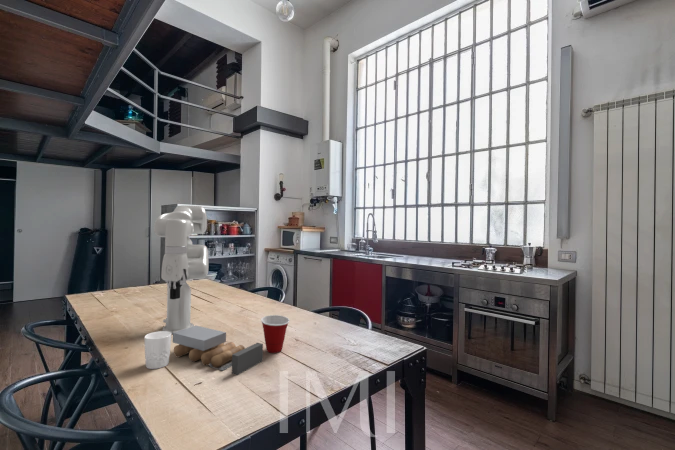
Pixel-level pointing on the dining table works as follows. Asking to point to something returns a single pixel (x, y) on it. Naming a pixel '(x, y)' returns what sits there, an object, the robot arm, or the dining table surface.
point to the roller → (225, 356)
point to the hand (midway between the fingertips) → (174, 298)
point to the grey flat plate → (222, 366)
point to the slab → (199, 337)
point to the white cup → (157, 349)
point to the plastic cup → (274, 332)
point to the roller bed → (202, 352)
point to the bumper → (247, 358)
